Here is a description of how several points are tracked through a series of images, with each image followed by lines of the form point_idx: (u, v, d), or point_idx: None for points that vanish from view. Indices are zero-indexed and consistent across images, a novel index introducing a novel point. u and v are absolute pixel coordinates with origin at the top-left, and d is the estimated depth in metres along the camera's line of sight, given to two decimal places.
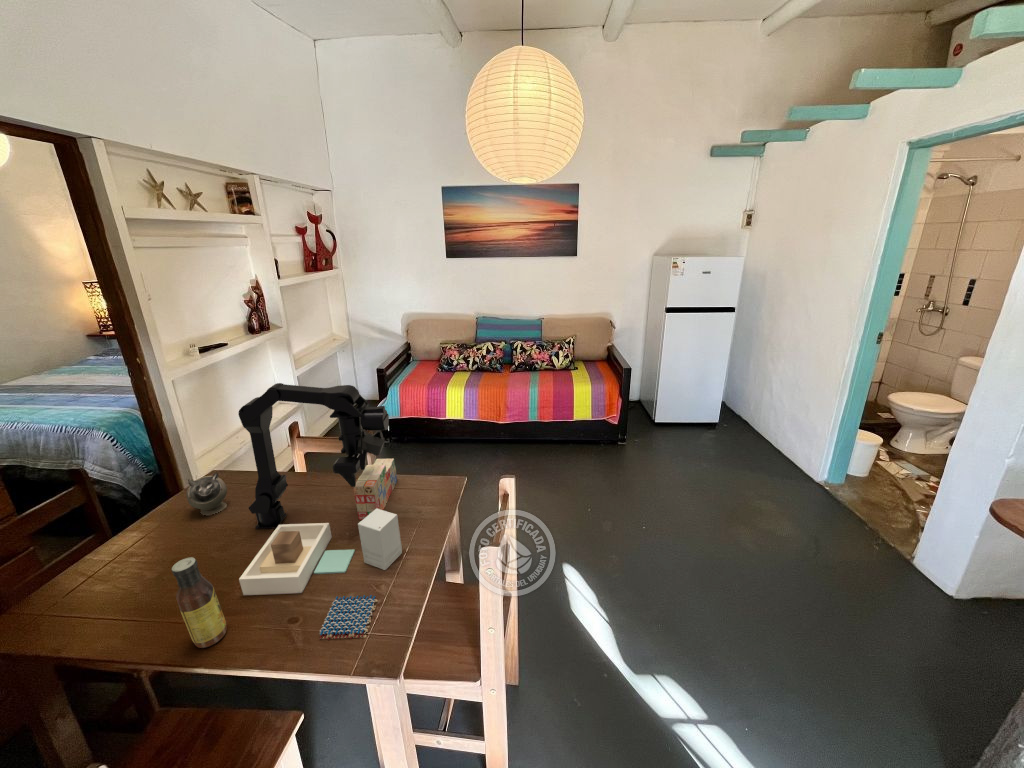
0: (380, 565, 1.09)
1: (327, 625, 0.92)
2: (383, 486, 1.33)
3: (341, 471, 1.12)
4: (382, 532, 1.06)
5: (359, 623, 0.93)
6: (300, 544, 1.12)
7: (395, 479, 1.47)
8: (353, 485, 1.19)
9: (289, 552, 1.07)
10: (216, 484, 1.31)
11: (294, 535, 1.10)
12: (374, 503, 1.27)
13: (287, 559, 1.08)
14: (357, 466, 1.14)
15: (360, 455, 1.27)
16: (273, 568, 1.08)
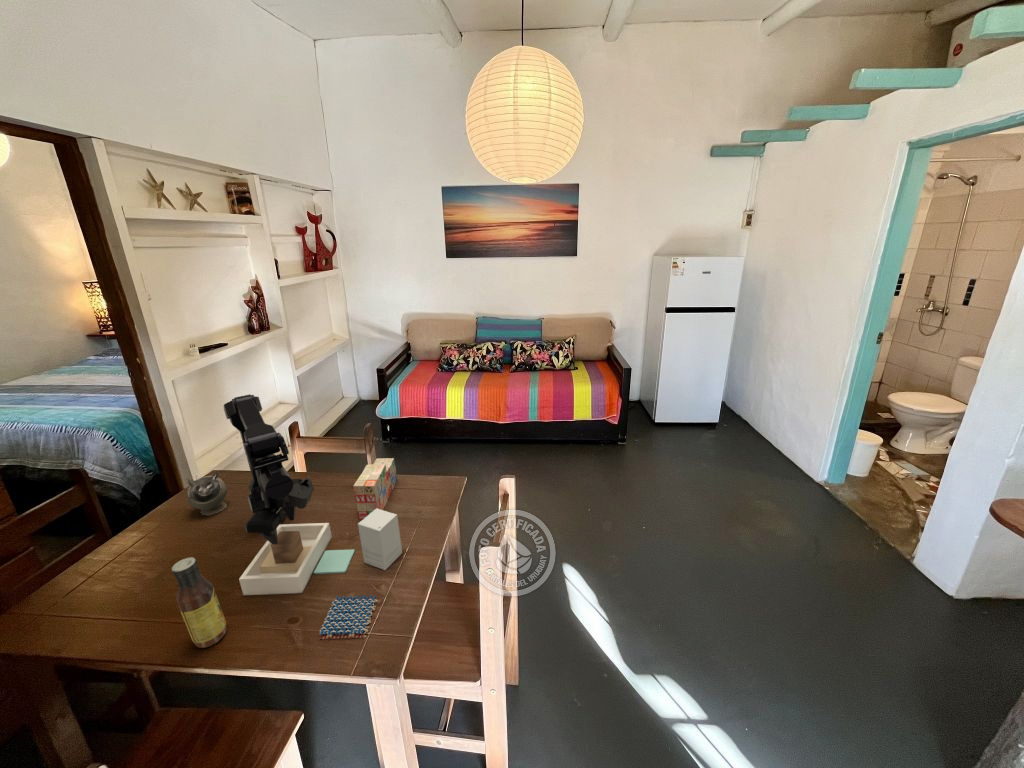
0: (380, 565, 1.09)
1: (327, 625, 0.92)
2: (383, 486, 1.33)
3: (255, 530, 0.97)
4: (382, 532, 1.06)
5: (359, 623, 0.93)
6: (300, 544, 1.12)
7: (395, 479, 1.47)
8: (274, 543, 1.03)
9: (289, 552, 1.07)
10: (216, 484, 1.31)
11: (294, 535, 1.10)
12: (374, 503, 1.27)
13: (287, 559, 1.08)
14: (275, 524, 0.98)
15: (288, 504, 1.11)
16: (273, 568, 1.08)
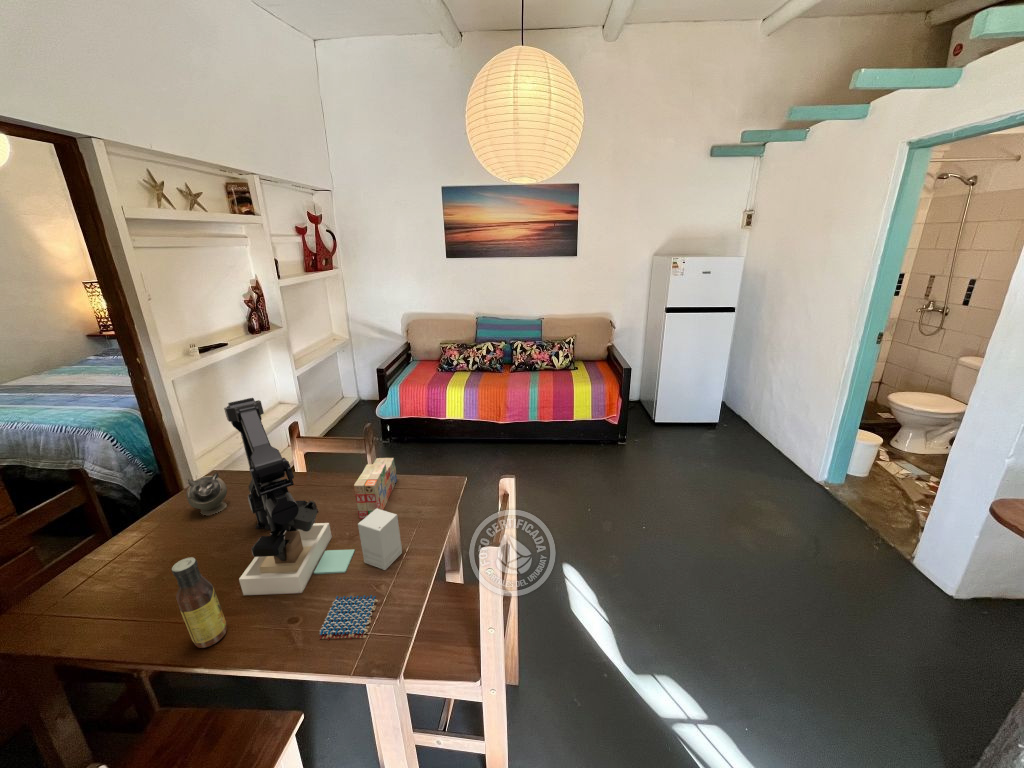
0: (380, 565, 1.09)
1: (327, 625, 0.92)
2: (383, 485, 1.33)
3: (261, 554, 0.99)
4: (382, 532, 1.06)
5: (359, 623, 0.93)
6: (300, 544, 1.12)
7: (395, 478, 1.47)
8: (283, 559, 1.07)
9: (289, 552, 1.07)
10: (216, 484, 1.31)
11: (294, 535, 1.10)
12: (375, 502, 1.27)
13: (287, 559, 1.08)
14: (280, 547, 1.01)
15: None
16: (273, 568, 1.08)
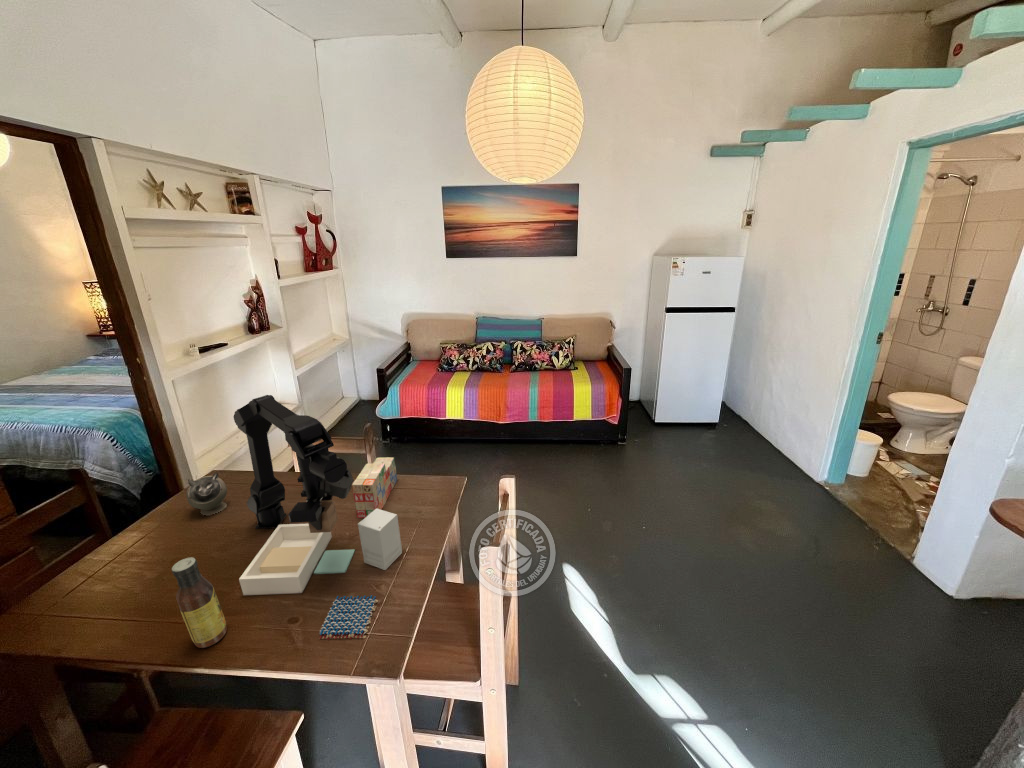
0: (380, 565, 1.09)
1: (327, 625, 0.92)
2: (382, 485, 1.34)
3: (298, 520, 0.96)
4: (382, 532, 1.06)
5: (359, 623, 0.93)
6: (335, 514, 1.09)
7: (395, 478, 1.47)
8: (319, 528, 1.04)
9: (325, 520, 1.04)
10: (216, 484, 1.31)
11: (329, 503, 1.07)
12: (372, 502, 1.27)
13: (322, 528, 1.05)
14: (318, 513, 0.97)
15: None
16: (273, 568, 1.08)
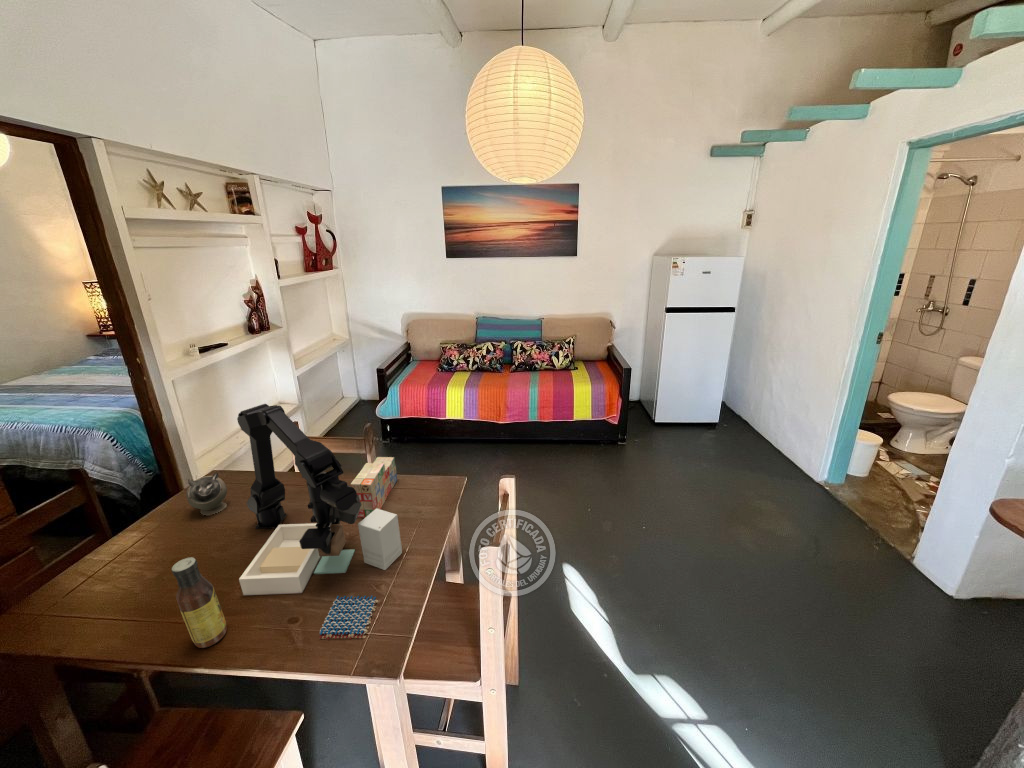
0: (380, 565, 1.09)
1: (327, 625, 0.92)
2: (381, 484, 1.34)
3: (309, 547, 0.99)
4: (382, 532, 1.06)
5: (359, 624, 0.93)
6: (343, 537, 1.12)
7: (395, 478, 1.48)
8: (327, 552, 1.07)
9: (334, 544, 1.07)
10: (216, 484, 1.31)
11: (337, 528, 1.09)
12: (371, 501, 1.27)
13: (331, 552, 1.08)
14: (328, 540, 1.00)
15: None
16: (273, 568, 1.08)
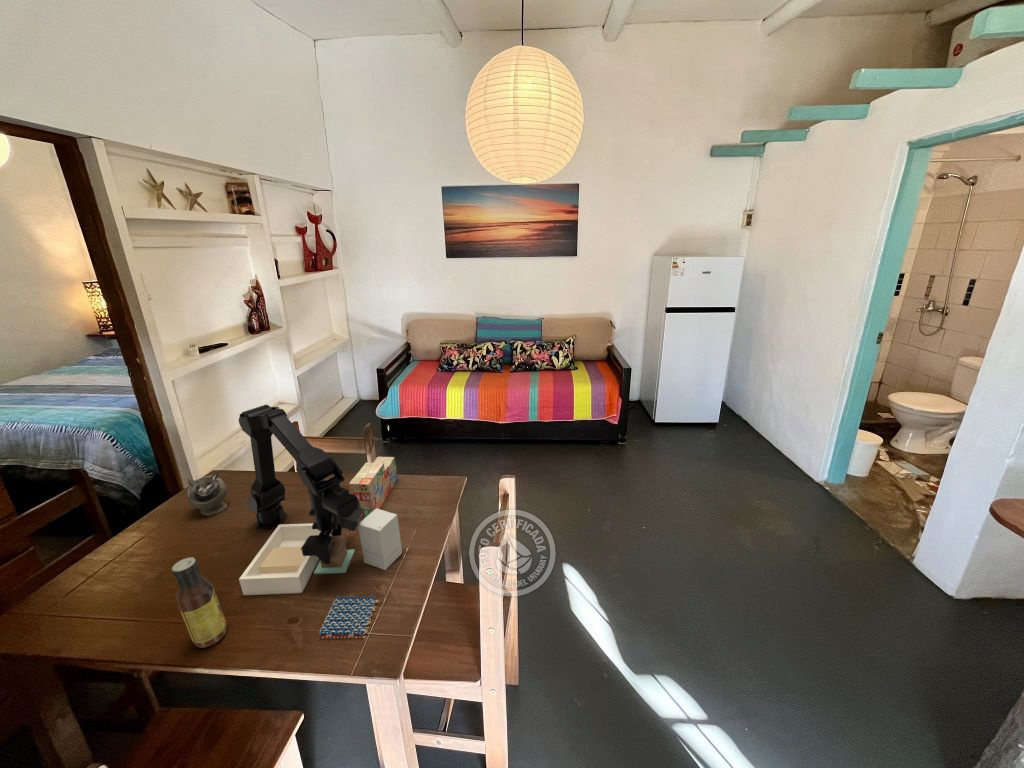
0: (380, 565, 1.09)
1: (327, 625, 0.92)
2: (380, 484, 1.34)
3: (311, 554, 0.99)
4: (382, 532, 1.06)
5: (359, 624, 0.93)
6: (345, 548, 1.13)
7: (395, 478, 1.48)
8: (327, 562, 1.07)
9: (336, 556, 1.08)
10: (216, 484, 1.31)
11: (339, 539, 1.11)
12: (369, 501, 1.28)
13: (333, 563, 1.09)
14: (329, 547, 1.01)
15: None
16: (273, 568, 1.08)
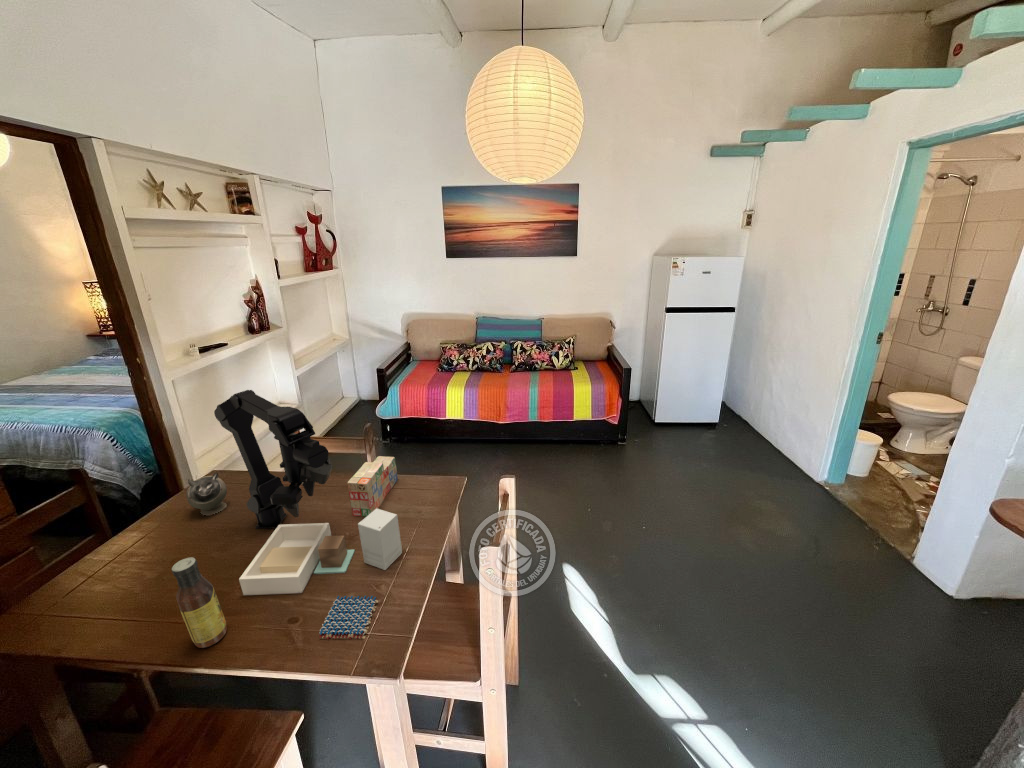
0: (380, 565, 1.09)
1: (327, 625, 0.93)
2: (378, 484, 1.34)
3: (279, 503, 1.04)
4: (382, 532, 1.06)
5: (358, 624, 0.93)
6: (345, 548, 1.13)
7: (395, 477, 1.48)
8: (296, 515, 1.10)
9: (336, 556, 1.08)
10: (216, 484, 1.31)
11: (339, 539, 1.11)
12: (367, 500, 1.28)
13: (333, 563, 1.09)
14: (298, 497, 1.05)
15: (307, 481, 1.18)
16: (273, 568, 1.08)
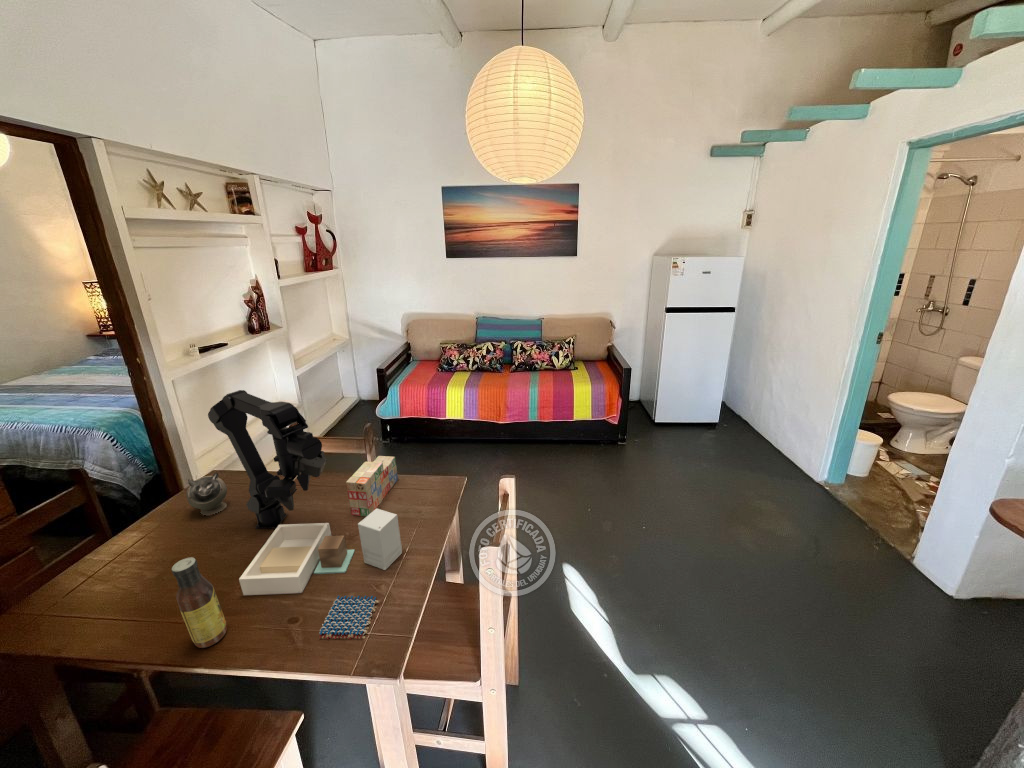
0: (380, 565, 1.09)
1: (327, 625, 0.93)
2: (378, 484, 1.34)
3: (274, 495, 1.05)
4: (382, 532, 1.06)
5: (358, 624, 0.93)
6: (345, 548, 1.13)
7: (395, 477, 1.48)
8: (291, 509, 1.12)
9: (336, 556, 1.08)
10: (216, 484, 1.31)
11: (339, 539, 1.11)
12: (366, 500, 1.28)
13: (333, 563, 1.09)
14: (292, 489, 1.07)
15: (302, 475, 1.20)
16: (273, 568, 1.08)
